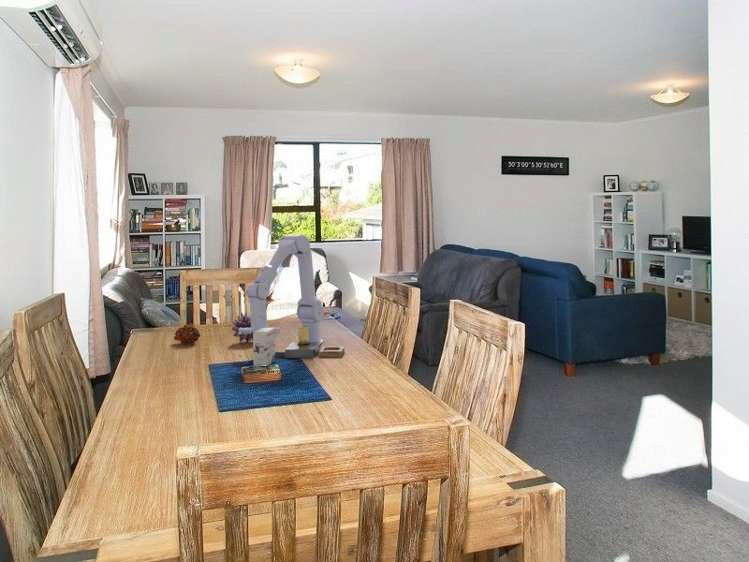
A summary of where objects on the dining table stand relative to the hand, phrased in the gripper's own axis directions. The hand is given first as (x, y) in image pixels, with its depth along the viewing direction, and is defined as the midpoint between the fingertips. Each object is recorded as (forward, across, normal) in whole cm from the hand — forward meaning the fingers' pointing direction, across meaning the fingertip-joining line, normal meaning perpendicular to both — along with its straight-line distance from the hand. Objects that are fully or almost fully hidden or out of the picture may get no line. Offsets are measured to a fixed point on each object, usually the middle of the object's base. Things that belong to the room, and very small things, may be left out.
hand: (260, 353), depth 223 cm
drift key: (+1, +8, 0) cm, 8 cm away
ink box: (+1, +4, -11) cm, 12 cm away
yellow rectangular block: (+1, +14, +7) cm, 16 cm away
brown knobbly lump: (+1, -36, +25) cm, 44 cm away
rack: (+1, +26, +3) cm, 26 cm away
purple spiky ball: (+1, -12, +27) cm, 30 cm away
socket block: (+1, +14, +4) cm, 15 cm away
